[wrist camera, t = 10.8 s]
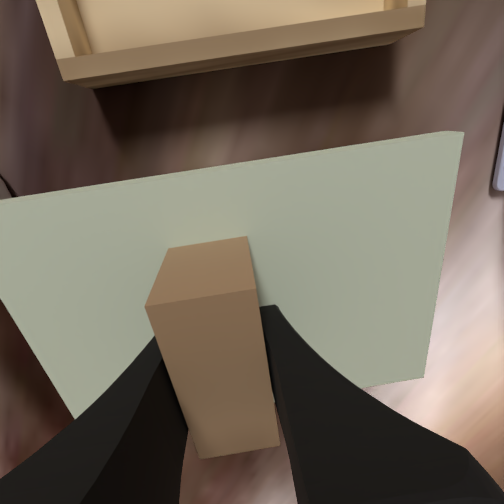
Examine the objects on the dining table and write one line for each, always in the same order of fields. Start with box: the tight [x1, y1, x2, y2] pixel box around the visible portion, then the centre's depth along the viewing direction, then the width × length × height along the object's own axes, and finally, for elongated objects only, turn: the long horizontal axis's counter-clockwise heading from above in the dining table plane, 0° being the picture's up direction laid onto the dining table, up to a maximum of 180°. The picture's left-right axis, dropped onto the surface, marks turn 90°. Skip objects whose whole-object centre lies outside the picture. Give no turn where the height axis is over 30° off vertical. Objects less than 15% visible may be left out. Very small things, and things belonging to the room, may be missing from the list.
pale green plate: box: [0, 131, 464, 459], centre depth 10 cm, size 10×15×4 cm
